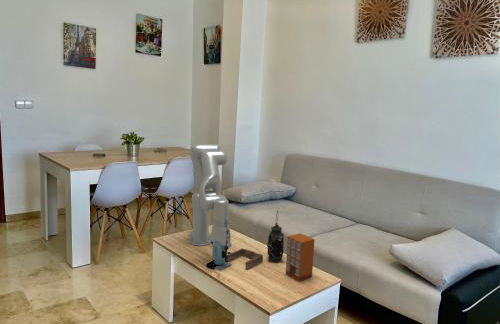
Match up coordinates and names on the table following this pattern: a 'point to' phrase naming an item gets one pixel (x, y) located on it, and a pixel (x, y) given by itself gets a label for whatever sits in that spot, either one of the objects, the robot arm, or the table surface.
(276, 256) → the lantern
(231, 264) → the coaster
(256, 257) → the brown u-shaped frame
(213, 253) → the jug
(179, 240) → the table surface
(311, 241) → the miniature building
